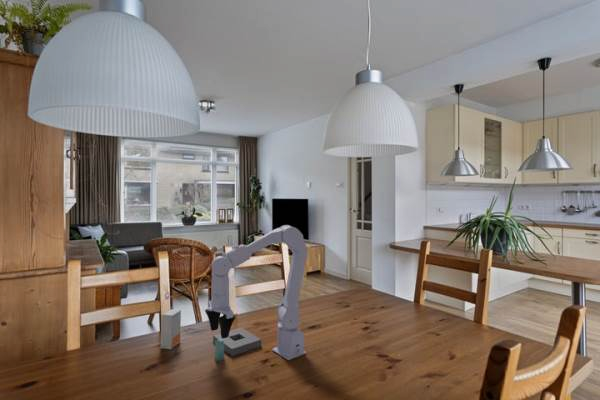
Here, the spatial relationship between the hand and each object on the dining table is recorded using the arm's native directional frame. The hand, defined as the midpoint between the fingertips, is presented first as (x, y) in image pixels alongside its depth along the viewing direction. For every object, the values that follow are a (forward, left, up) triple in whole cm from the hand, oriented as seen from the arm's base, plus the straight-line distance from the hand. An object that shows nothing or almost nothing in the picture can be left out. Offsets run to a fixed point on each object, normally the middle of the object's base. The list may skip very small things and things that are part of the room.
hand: (219, 333), depth 108 cm
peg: (0, 0, -8) cm, 8 cm away
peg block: (+6, -10, -8) cm, 14 cm away
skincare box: (+20, +9, -9) cm, 23 cm away
